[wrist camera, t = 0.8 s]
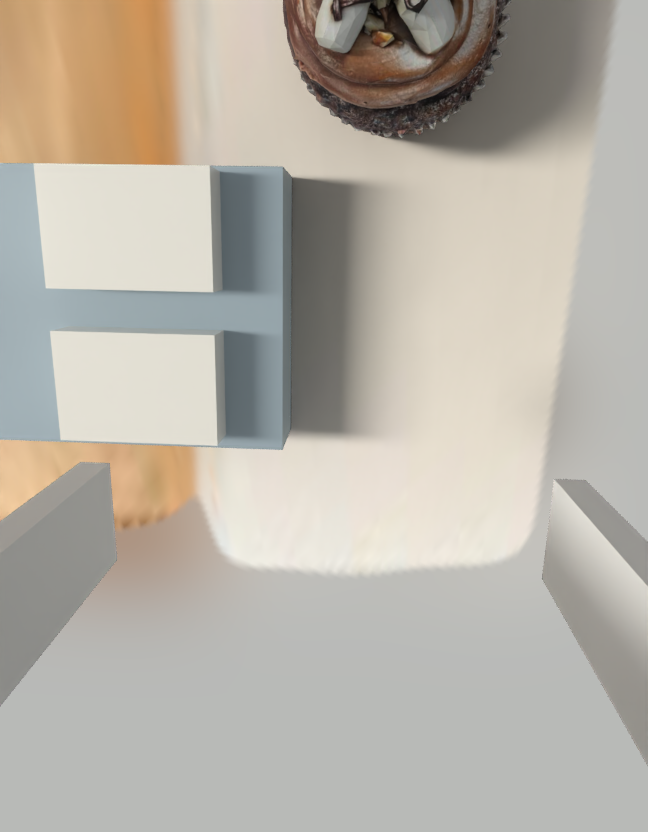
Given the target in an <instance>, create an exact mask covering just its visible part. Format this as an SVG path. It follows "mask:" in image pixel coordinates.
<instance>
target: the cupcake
mask: <svg viewBox="0 0 648 832" xmlns="http://www.w3.org/2000/svg"><path fill="white" fill-rule="evenodd" d="M510 3H511V0H283V13H284V23H285V26H286V29H287V39H288V43H289V46H290V49H291V53H292V56H293V59H294V64H295V65H296V66H297V67H298V69H299V70H300V72H301V79H302V80H303V81H304V82H305V83H307V89H308V91H309V92H310V93H311V94H313V95H314V96H316V100H317V101H318V102H319V103H320V104H321V105H322V106H324V107H327V108H329V110H330V114H331V115H333V116H336V117H339V118H341V121H342V123H344V124H346V125H347V124H350V125H352V126H353V128H354V129H355V131H360V130H363V131H366V132H371V134H372V135H378V136H382V137H389V136H391V135H394V136H397V137H400V138H402V137H403V136H404V135H405V134H407V133H414V134H418V135H420V134H421V133H423V128H425V129H435V125H436V122H447V121H448V119H449V115H450V114H455V113H457V112H458V111H460V110H461V109H460V105H463V104H465V103H467V102H469V101H472V92H474V91H477V90H479V89H481V88H483V87H485V82H484V80H481V79H482V78H484V77H486V76H488V75H491V74H492V73H493V72H494V69H493V66H492V63H491V62H493V61H494V60H496V59H497V58H499V57H501V55H502V53H501V52H500V51H499V50H498V48H497V46H498V45H499V44H501V43H502V42H503V41H504V40H505V39H507V33H504V32H500V31H499V29H500V28H501V27H502V26H503V25H504V24H506V23H507V22H508V21H509V20H510V19H511V18H510V15H509V14H502V13H501V12H502V11H503V9H504V8H505V7H506V6H508V5H509V4H510ZM489 63H491V64H490V65H489Z"/></svg>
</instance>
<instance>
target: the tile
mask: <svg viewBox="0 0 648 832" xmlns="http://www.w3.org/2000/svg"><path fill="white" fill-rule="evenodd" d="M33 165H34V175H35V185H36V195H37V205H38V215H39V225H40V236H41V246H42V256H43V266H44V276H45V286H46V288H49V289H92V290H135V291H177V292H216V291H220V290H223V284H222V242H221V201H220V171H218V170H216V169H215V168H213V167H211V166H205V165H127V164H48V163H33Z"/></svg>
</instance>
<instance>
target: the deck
mask: <svg viewBox="0 0 648 832" xmlns="http://www.w3.org/2000/svg"><path fill="white" fill-rule="evenodd" d="M211 167H213V168H215V169H216V170H218V171H220V201H221V242H222V284H223V290H220V291H216V292H177V291H135V290H92V289H49V288H46V286H45V276H44V266H43V256H42V246H41V236H40V225H39V215H38V205H37V195H36V185H35V175H34V165H33V163H0V439H1V440H29V441H56V442H83V443H111V444H138V445H165V446H193V447H220V448H247V449H275V450H283V447H284V444H285V442H286V439H287V437H288V434H289V432H290V429H291V282H292V177H291V175H290V174H289V173H288V172H287V171H286V170H285V169H284V167H270V166H211ZM67 326H85V327H123V328H160V329H198V330H224V368H225V410H226V435H225V436H224V438H223V439H222V440H221V442H220V443H219V444H218V446H209V445H181V444H154V443H127V442H99V441H72V440H61V439H60V429H59V418H58V408H57V398H56V388H55V378H54V368H53V358H52V347H51V337H50V331H51V330H55V329H59V328H63V327H67Z"/></svg>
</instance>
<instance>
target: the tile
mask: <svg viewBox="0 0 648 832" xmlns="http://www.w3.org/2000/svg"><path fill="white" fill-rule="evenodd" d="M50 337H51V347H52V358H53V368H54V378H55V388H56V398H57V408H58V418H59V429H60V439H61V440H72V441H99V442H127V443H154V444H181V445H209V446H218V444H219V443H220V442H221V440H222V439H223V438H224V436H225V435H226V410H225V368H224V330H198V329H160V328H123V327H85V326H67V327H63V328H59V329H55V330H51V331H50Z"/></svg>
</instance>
